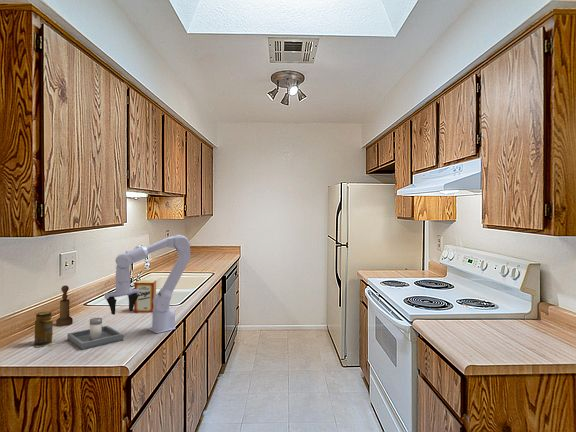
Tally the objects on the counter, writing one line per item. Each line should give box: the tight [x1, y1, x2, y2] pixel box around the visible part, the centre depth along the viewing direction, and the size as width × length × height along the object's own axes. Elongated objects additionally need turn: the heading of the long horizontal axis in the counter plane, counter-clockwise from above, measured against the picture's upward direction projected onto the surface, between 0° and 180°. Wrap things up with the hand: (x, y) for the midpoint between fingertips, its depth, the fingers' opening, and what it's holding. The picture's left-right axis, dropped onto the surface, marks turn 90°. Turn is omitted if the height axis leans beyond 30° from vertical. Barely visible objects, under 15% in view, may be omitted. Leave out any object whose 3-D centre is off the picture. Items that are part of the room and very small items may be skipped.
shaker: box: [89, 317, 103, 340], centre depth 158 cm, size 5×5×8 cm
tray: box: [67, 325, 124, 351], centre depth 158 cm, size 16×16×2 cm
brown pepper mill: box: [55, 285, 74, 327], centre depth 177 cm, size 7×6×18 cm
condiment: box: [30, 311, 58, 348], centre depth 153 cm, size 7×8×12 cm
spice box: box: [133, 279, 157, 314], centre depth 203 cm, size 10×6×16 cm
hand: (122, 312), depth 166 cm, fingers open, 7 cm apart
